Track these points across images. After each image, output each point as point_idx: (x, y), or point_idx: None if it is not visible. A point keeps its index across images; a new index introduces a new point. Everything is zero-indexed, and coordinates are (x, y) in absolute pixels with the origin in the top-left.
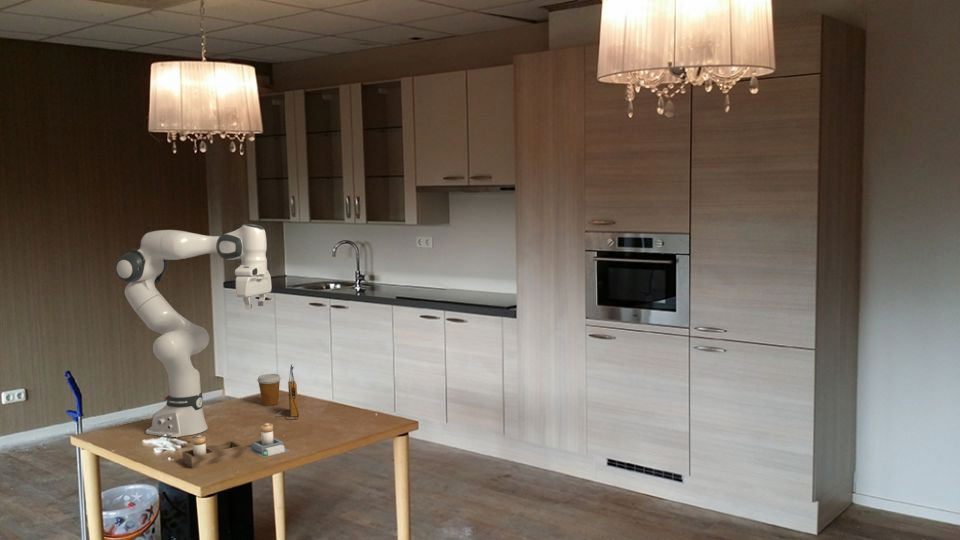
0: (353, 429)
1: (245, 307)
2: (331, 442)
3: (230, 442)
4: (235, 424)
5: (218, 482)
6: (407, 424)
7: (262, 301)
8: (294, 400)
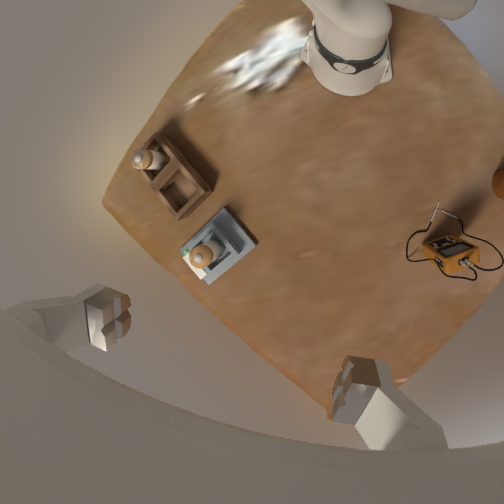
0: (326, 360)
1: (92, 288)
2: (261, 335)
3: (197, 190)
4: (387, 140)
5: (112, 213)
6: None
7: (335, 421)
8: (433, 258)
